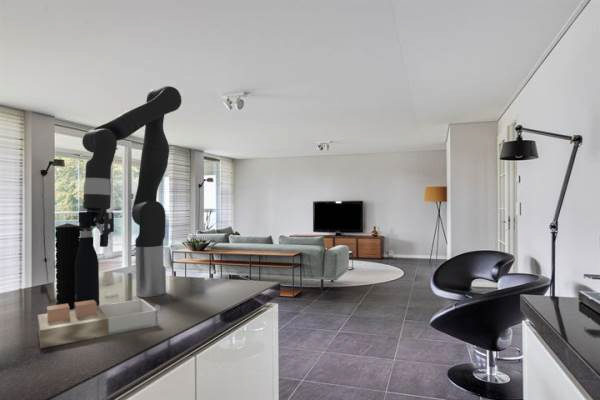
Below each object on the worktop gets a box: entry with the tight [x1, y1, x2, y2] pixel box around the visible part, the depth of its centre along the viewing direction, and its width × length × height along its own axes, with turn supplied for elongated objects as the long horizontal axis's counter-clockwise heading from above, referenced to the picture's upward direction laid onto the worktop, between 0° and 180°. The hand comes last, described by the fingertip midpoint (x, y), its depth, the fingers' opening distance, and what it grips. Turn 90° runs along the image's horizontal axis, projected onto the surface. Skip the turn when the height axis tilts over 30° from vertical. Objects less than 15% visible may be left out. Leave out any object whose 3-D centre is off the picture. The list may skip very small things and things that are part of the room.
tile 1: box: [46, 303, 70, 323], centre depth 98 cm, size 4×4×3 cm
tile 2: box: [74, 300, 97, 318], centre depth 102 cm, size 4×4×3 cm
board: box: [37, 306, 110, 349], centre depth 100 cm, size 14×16×4 cm
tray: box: [99, 298, 159, 336], centre depth 107 cm, size 12×16×4 cm
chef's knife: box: [153, 304, 161, 314], centre depth 118 cm, size 19×1×3 cm
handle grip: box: [54, 222, 81, 310], centre depth 126 cm, size 10×26×10 cm
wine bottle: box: [75, 211, 100, 306], centre depth 121 cm, size 6×6×30 cm
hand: (95, 246), depth 122 cm, fingers open, 8 cm apart
